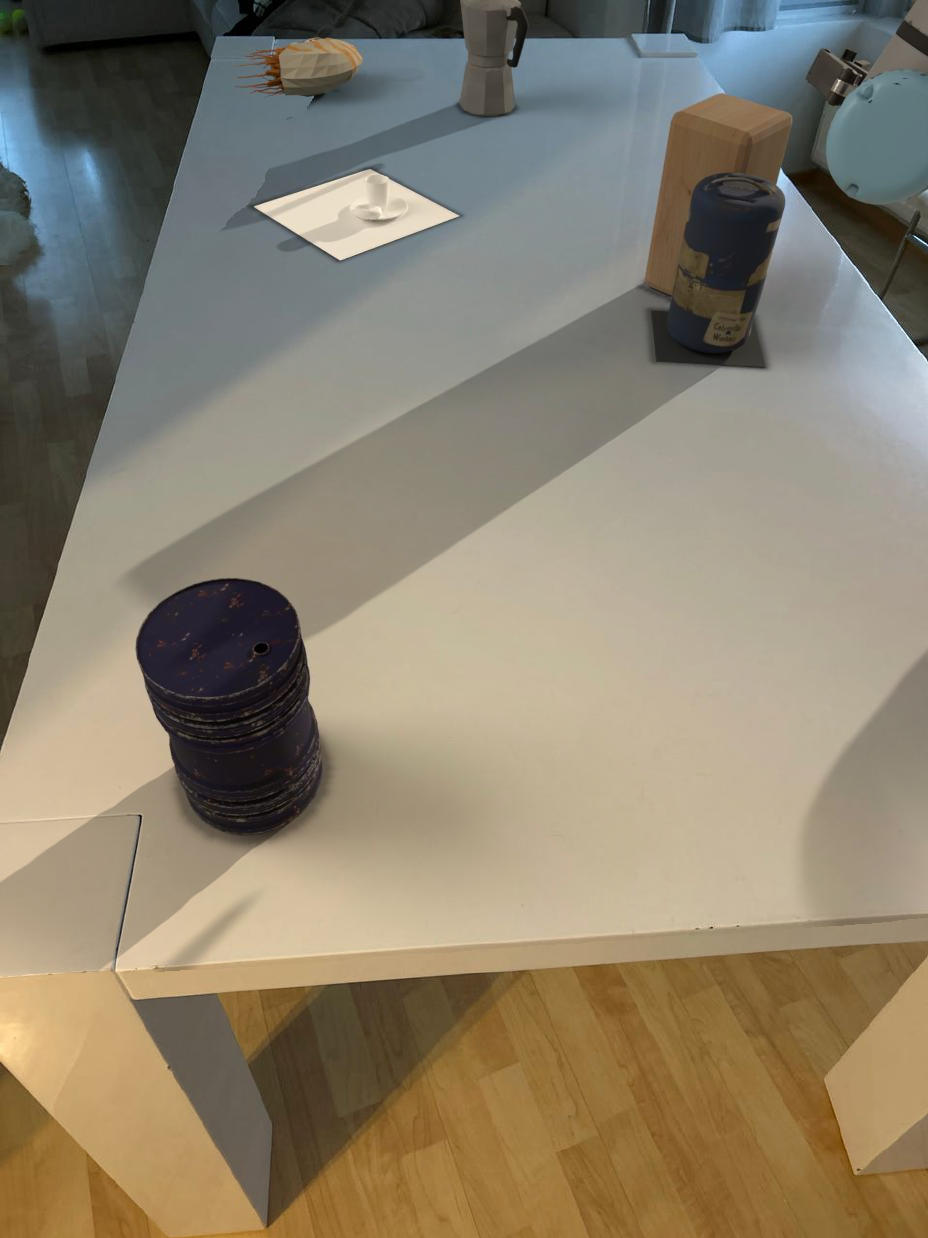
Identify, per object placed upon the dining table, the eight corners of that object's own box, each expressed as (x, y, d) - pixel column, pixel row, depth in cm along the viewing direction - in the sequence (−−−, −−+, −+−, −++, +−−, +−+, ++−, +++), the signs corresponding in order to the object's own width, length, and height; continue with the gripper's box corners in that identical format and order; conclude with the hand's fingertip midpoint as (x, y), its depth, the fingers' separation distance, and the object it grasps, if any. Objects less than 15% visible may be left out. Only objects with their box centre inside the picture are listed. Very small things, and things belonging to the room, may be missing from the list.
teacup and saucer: (368, 230, 125) (366, 199, 122) (333, 209, 129) (330, 179, 126) (419, 211, 129) (419, 181, 126) (383, 192, 133) (382, 162, 130)
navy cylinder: (155, 808, 65) (98, 669, 54) (229, 703, 72) (190, 560, 61) (283, 855, 63) (250, 721, 52) (348, 743, 69) (330, 601, 58)
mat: (765, 369, 104) (765, 367, 104) (655, 363, 105) (656, 360, 105) (752, 318, 112) (753, 315, 112) (650, 312, 112) (651, 310, 112)
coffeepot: (440, 100, 158) (440, -28, 145) (485, 88, 162) (489, -37, 149) (498, 129, 150) (503, -3, 136) (543, 116, 154) (553, -13, 140)
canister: (687, 307, 113) (720, 149, 100) (762, 333, 109) (806, 173, 96) (649, 341, 107) (678, 179, 94) (726, 369, 104) (767, 205, 91)
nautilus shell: (234, 111, 154) (242, 84, 165) (366, 101, 155) (365, 74, 165) (223, 56, 149) (232, 32, 159) (359, 45, 149) (359, 22, 160)
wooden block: (640, 286, 116) (668, 111, 102) (686, 258, 121) (719, 88, 107) (709, 315, 112) (749, 136, 97) (754, 285, 117) (798, 111, 102)
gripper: (731, 104, 74) (782, 93, 90) (1028, 253, 70) (1024, 213, 86) (783, -3, 69) (826, 5, 86) (1104, 150, 65) (1085, 128, 82)
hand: (926, 109), depth 86 cm, fingers open, 13 cm apart
